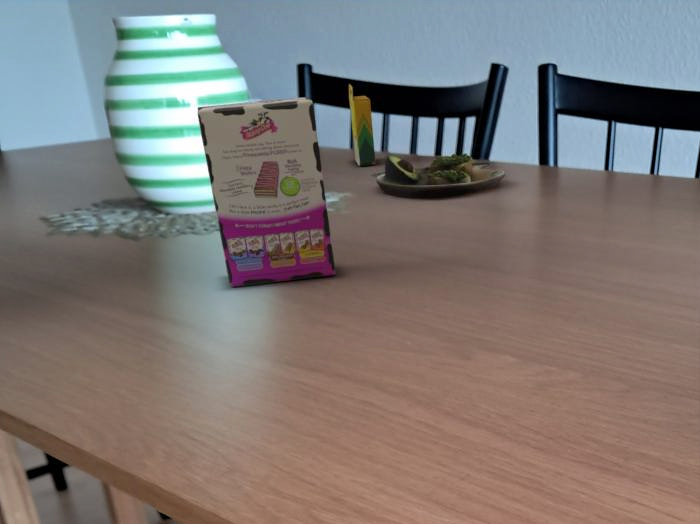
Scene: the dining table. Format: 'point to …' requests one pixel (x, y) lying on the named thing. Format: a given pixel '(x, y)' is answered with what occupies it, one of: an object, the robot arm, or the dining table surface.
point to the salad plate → (436, 177)
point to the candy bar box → (268, 190)
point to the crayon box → (362, 129)
